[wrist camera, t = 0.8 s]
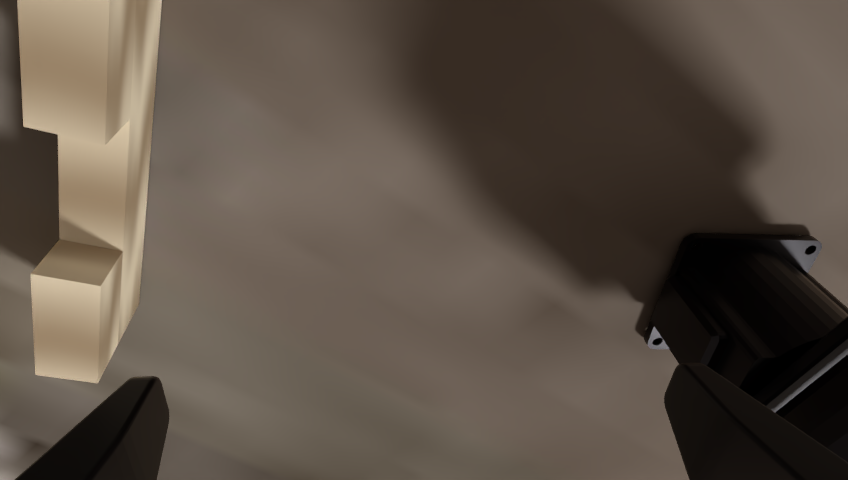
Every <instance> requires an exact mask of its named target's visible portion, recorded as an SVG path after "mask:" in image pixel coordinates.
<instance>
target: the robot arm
mask: <svg viewBox="0 0 848 480" xmlns="http://www.w3.org/2000/svg"><path fill="white" fill-rule="evenodd" d="M696 243H697V244H696ZM694 244H696V246H694V247H692V246H693V245H694ZM821 248H822V245H821V243H820V242H819V241H818V240H817V239H815V238H814V237H812V236H792V235H751V234H710V233H694V234H690V235H688V236H687V237H685V238H684V240H683V241H682V243H681V245H680V248H679V250H678V253H677V255H676V258H675V260H674V263H673V265H672V268H671V271H670V273H669V276H668V278H667V280H666V282H665V284H664V287H663V289H662V292H661V294H660V297H659V299H658V302H657V304H656V307H655V309H654V312H653V314H652V317H651V321H650V323H649V326H648V328H647V331H646V333H645V336H644V340H645V342H646V344H647V345H648V347H649V348H651V349H670V351H671V352H672V354H673V355H674V357H675V358H676V360H677V361H678V363H679V365H678V366H677V367H676V368H675V371H674V373H673V375H672V378H671V380H670V383H669V385H668V387H667V390H666V392H665V397H664V403H665V408H666V411H667V414H668V417H669V420H670V423H671V426H672V429H673V432H674V435H675V438H676V441H677V444H678V447H679V450H680V453H681V456H682V459H683V462H684V465H685V468H686V471H687V474H688V477H689V479H690V480H848V308H847V307H846V306H845V305H843V304H842V303H841V302H840V301H839V300H838V299H837V298H836V297H834V296H833V295H832V294H831V293H830V292H829V291H828V290H826V289H825V288H824V287H823V286H822V285H821V284H820V283H818V282H817V281H816V280H815V279H814V278H813V277H812V276H810V275H809V274H808V272H809V270H810V268H811V267H812V265H813V263H814V261H815V259H816V258H817V256H818V254H819V252H820V251H821ZM656 338H657V339H656ZM654 339H655V340H654ZM168 424H169V409H168V405H167V402H166V398H165V394H164V391H163V387H162V383H161V381H160V379H159V378H158V377H155V376H146V377H133V378H130V379H129V380H127V381H126V382H125V383H124V384H123V385H122V386H120V387H119V388H118V389H117V390H116V391H115V392H114V393H113V394H111V395H110V396H109V397H108V398H107V399H106V400H105V401H103V402H102V403H101V404H100V405H99V406H98V407H97V408H95V409H94V410H93V411H92V412H91V413H90V414H89V415H88V416H86V417H85V418H84V419H83V420H82V421H81V422H80V423H78V424H77V425H76V426H75V427H74V428H73V429H72V430H71V431H69V432H68V433H67V434H66V435H65V436H64V437H63V438H61V439H60V440H59V441H58V442H57V443H56V444H55V445H53V446H52V447H51V448H50V449H49V450H48V451H47V452H46V453H44V454H43V455H42V456H41V457H40V458H39V459H38V460H36V461H35V462H34V463H33V464H32V465H31V466H30V467H29V468H27V469H26V470H25V471H24V472H23V473H22V474H21V475H19V476H18V477H17V478H16V479H15V480H157V475H158V470H159V466H160V461H161V456H162V452H163V447H164V443H165V438H166V433H167V429H168Z"/></svg>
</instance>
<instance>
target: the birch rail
mask: <svg viewBox="0 0 848 480" xmlns="http://www.w3.org/2000/svg"><path fill="white" fill-rule="evenodd" d="M17 5H18V26H19V46H20V67H21V87H22V108H23V127H27V128H31V129H36V130H40V131H44V132H49V133H53V134H57V135H58V177H59V240H58V242H57V243H56V244H55V245H54V246H53V248H52V249H51V250H50V251H49V252H48V254H47V255H46V256H45V257H44V258H43V260H42V261H41V262H40V263H39V264H38V266H37V267H36V268H35V269H34V270H33V272H32V273H31V293H32V313H33V334H34V354H35V375H41V376H48V377H55V378H63V379H70V380H78V381H85V382H93V383H98V382H99V380H100V378H101V376H102V374H103V372H104V370H105V368H106V366H107V364H108V363H109V361H110V359H111V357H112V355H113V353H114V351H115V349H116V347H117V345H118V343H119V341H120V339H121V337H122V335H123V334H124V332H125V330H126V328H127V326H128V324H129V322H130V320H131V318H132V316H133V314H134V312H135V310H136V308H137V307H138V305H139V298H140V285H141V271H142V258H143V245H144V232H145V218H146V205H147V192H148V178H149V165H150V152H151V139H152V125H153V112H154V99H155V86H156V72H157V59H158V46H159V32H160V19H161V6H162V0H17Z"/></svg>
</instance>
